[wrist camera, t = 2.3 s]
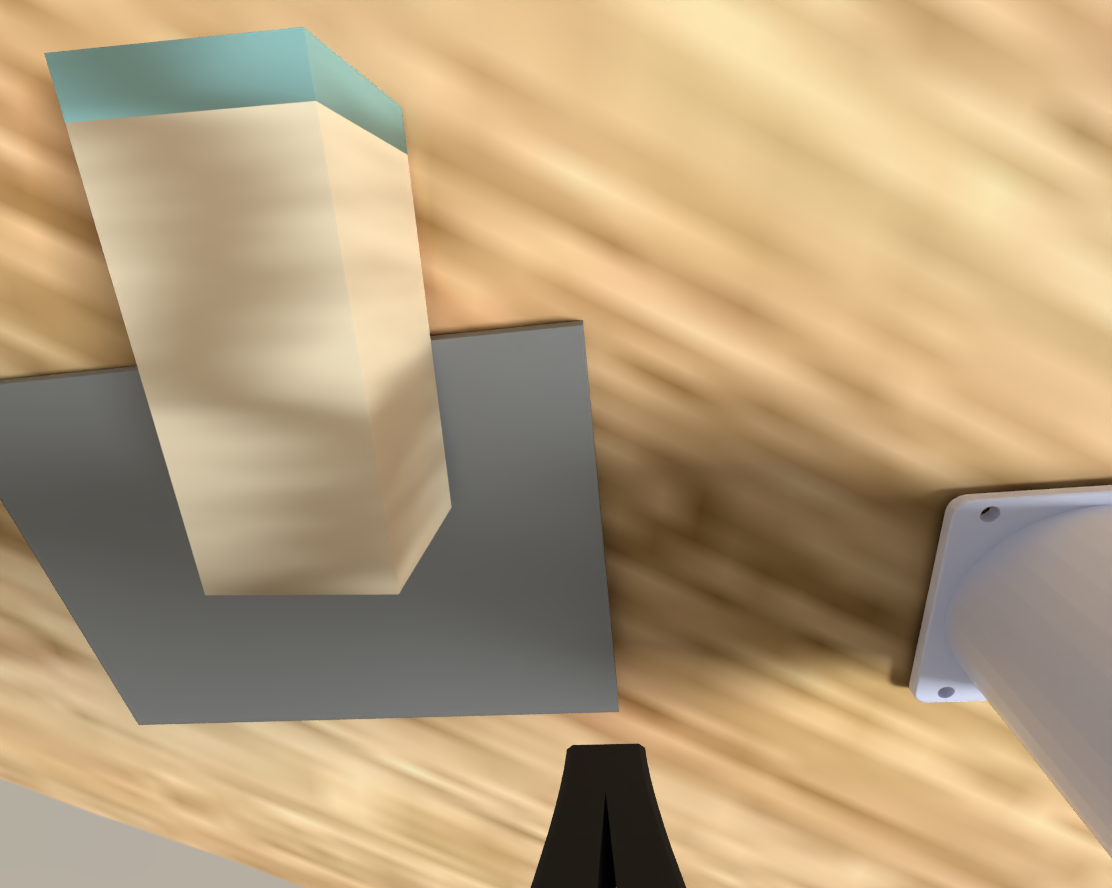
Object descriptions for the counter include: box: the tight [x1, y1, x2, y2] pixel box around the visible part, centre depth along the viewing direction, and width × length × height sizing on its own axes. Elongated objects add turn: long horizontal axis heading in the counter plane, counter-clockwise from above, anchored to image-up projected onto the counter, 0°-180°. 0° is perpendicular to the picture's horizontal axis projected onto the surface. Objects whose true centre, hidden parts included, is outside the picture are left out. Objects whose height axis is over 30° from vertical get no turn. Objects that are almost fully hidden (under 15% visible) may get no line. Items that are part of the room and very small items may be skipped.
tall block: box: [44, 27, 451, 595], centre depth 12 cm, size 4×4×10 cm
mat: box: [0, 320, 619, 725], centre depth 18 cm, size 19×14×1 cm
